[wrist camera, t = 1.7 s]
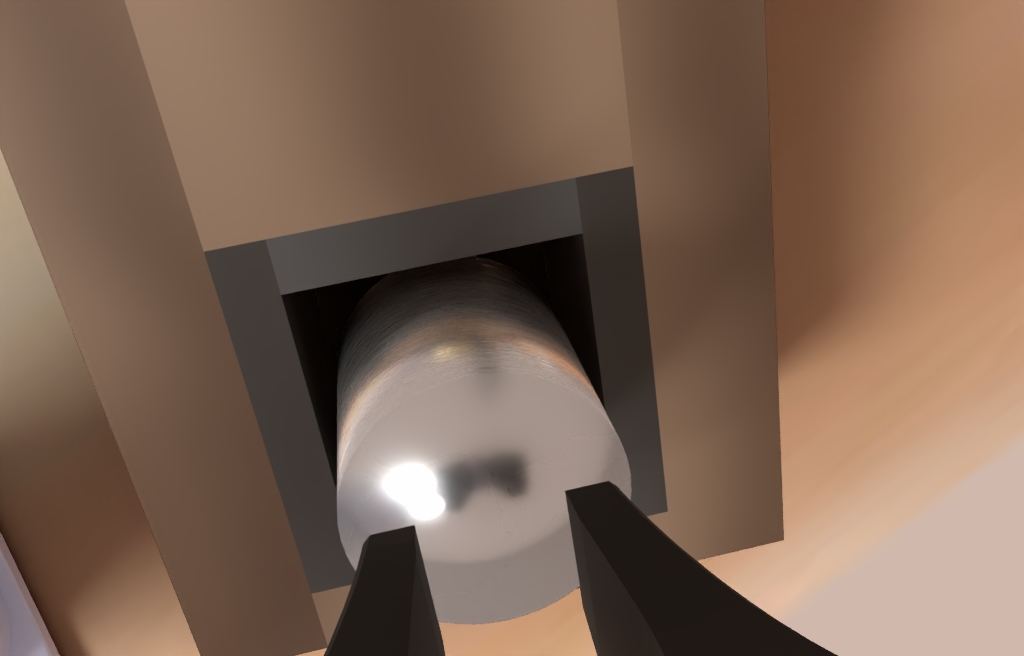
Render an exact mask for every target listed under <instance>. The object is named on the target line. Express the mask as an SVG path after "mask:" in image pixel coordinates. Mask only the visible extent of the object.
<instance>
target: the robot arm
mask: <svg viewBox="0 0 1024 656" xmlns="http://www.w3.org/2000/svg"><path fill="white" fill-rule="evenodd" d="M565 494H566V501H567V507H568V514H569V520H570V526H571V533H572V539H573V545H574V552H575V558H576V565H577V571H578V577H579V584H580V590H581V597H582V603H583V608H584V612H585V615H586V618H587V622H588V625H589V629H590V632H591V635H592V639H593V642H594V646H595V649H596V652H597V655H598V656H838V655H836V654H833V653H832V652H830V651H828V650H826V649H825V648H823V647H821V646H819V645H817V644H816V643H814V642H812V641H810V640H809V639H807V638H805V637H804V636H802V635H800V634H799V633H797V632H796V631H794V630H792V629H791V628H789V627H787V626H786V625H784V624H783V623H781V622H779V621H778V620H776V619H775V618H773V617H772V616H770V615H769V614H767V613H766V612H764V611H763V610H761V609H760V608H758V607H757V606H756V605H754V604H753V603H751V602H750V601H748V600H747V599H746V598H744V597H743V596H742V595H740V594H739V593H737V592H736V591H735V590H733V589H732V588H731V587H729V586H728V585H727V584H725V583H724V582H723V581H721V580H720V579H719V578H717V577H716V576H715V575H714V574H712V573H711V572H710V571H708V570H707V569H706V568H705V567H704V566H702V565H701V564H700V563H699V562H698V561H696V560H695V559H694V558H693V557H692V556H690V555H689V554H688V553H687V552H686V551H684V550H683V549H682V548H681V547H680V546H678V545H677V544H676V543H675V542H674V541H673V540H672V539H671V538H669V537H668V536H667V535H666V534H665V533H664V532H663V531H662V530H661V529H660V528H658V527H657V526H656V525H655V524H654V523H653V522H652V521H651V520H650V519H649V518H648V517H647V516H646V515H645V514H644V513H643V512H642V511H641V510H640V509H639V508H638V507H637V506H636V505H635V504H634V503H633V502H632V501H631V500H630V499H629V498H628V497H627V496H626V495H625V494H624V493H623V492H622V491H621V490H620V489H619V488H618V487H617V486H616V485H614V484H613V483H611V482H610V481H606V482H601V483H597V484H592V485H588V486H584V487H579V488H575V489H570V490H566V491H565ZM0 656H60V655H59V653H58V651H57V649H56V647H55V645H54V642H53V640H52V638H51V636H50V634H49V632H48V630H47V628H46V626H45V624H44V622H43V620H42V618H41V615H40V613H39V611H38V609H37V607H36V605H35V603H34V601H33V599H32V597H31V595H30V593H29V590H28V588H27V586H26V584H25V582H24V580H23V578H22V576H21V574H20V572H19V570H18V568H17V565H16V563H15V561H14V559H13V557H12V555H11V553H10V551H9V549H8V547H7V545H6V543H5V541H4V538H3V536H2V534H1V532H0ZM324 656H445V651H444V645H443V640H442V635H441V631H440V627H439V623H438V619H437V615H436V611H435V607H434V603H433V599H432V595H431V590H430V586H429V582H428V578H427V574H426V570H425V566H424V562H423V558H422V554H421V550H420V546H419V541H418V537H417V533H416V529H415V525H412V526H408V527H403V528H399V529H394V530H390V531H386V532H381V533H377V534H372V535H369V537H368V538H367V539H366V541H365V542H364V543H363V546H362V551H361V555H360V559H359V562H358V566H357V569H356V573H355V576H354V579H353V582H352V585H351V588H350V591H349V594H348V597H347V599H346V602H345V605H344V608H343V610H342V613H341V615H340V618H339V620H338V623H337V625H336V628H335V630H334V633H333V635H332V638H331V640H330V643H329V645H328V648H327V650H326V652H325V654H324Z"/></svg>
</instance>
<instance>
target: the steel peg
mask: <svg viewBox="0 0 1024 656" xmlns="http://www.w3.org/2000/svg"><path fill="white" fill-rule="evenodd" d="M606 481H610V482H611V483H613V484H614V485H616V486H617V487H618V488H619V489H620V490H621V491H622V492H623V493H624V494H625V495H626V496H627V497H628V498H629V499H631V473H630V468H629V463H628V459H627V456H626V453H625V450H624V448H623V445H622V443H621V441H620V439H619V437H618V435H617V433H616V431H615V429H614V427H613V425H612V423H611V421H610V419H609V417H608V416H607V414H606V412H605V410H604V408H603V406H602V404H601V402H600V400H599V398H598V396H597V394H596V392H595V390H594V388H593V386H592V384H591V382H590V380H589V378H588V376H587V375H586V373H585V371H584V369H583V367H582V365H581V363H580V361H579V359H578V357H577V355H576V353H575V351H574V349H573V347H572V345H571V343H570V341H569V339H568V337H567V336H566V334H565V332H564V330H563V328H562V326H561V324H560V322H559V320H558V318H557V316H556V314H555V312H554V310H553V309H552V307H551V305H550V303H549V301H548V300H547V299H546V297H545V296H544V295H543V293H542V292H541V291H540V290H539V289H538V288H537V287H536V286H535V285H534V284H533V283H532V282H531V281H530V280H529V279H527V278H526V277H525V276H523V275H522V274H521V273H519V272H518V271H516V270H514V269H512V268H510V267H508V266H507V265H504V264H502V263H499V262H496V261H494V260H491V259H486V258H482V257H478V256H469V257H464V258H460V259H455V260H450V261H445V262H440V263H435V264H430V265H425V266H420V267H416V268H411V269H406V270H401V271H396V272H392V273H390V274H388V275H387V276H385V277H384V278H383V279H381V280H380V281H379V282H377V283H376V284H375V285H374V286H373V287H372V288H371V289H370V290H368V291H367V292H366V293H365V294H364V296H363V297H362V298H361V299H360V301H359V302H358V303H357V304H356V306H355V307H354V309H353V311H352V312H351V314H350V316H349V317H348V319H347V322H346V324H345V326H344V329H343V331H342V335H341V338H340V342H339V347H338V356H337V522H338V529H339V534H340V539H341V542H342V545H343V548H344V550H345V553H346V555H347V557H348V559H349V561H350V563H351V564H352V566H353V568H354V570H355V571H356V569H357V566H358V562H359V559H360V555H361V551H362V546H363V543H364V542H365V541H366V539H367V538H368V537H369V535H372V534H377V533H381V532H386V531H390V530H394V529H399V528H403V527H408V526H412V525H415V529H416V533H417V537H418V541H419V546H420V550H421V554H422V558H423V562H424V566H425V570H426V574H427V578H428V582H429V586H430V590H431V595H432V599H433V603H434V607H435V611H436V615H437V619H438V621H439V622H446V623H454V624H484V623H494V622H499V621H505V620H510V619H514V618H517V617H520V616H524V615H527V614H530V613H532V612H535V611H537V610H540V609H542V608H545V607H547V606H549V605H550V604H552V603H554V602H556V601H558V600H560V599H562V598H563V597H565V596H566V595H567V594H569V593H570V592H572V591H573V590H575V589H576V588H577V587H579V586H580V584H579V577H578V571H577V565H576V558H575V552H574V545H573V539H572V533H571V526H570V520H569V514H568V507H567V501H566V494H565V491H566V490H570V489H575V488H579V487H584V486H588V485H592V484H597V483H601V482H606Z"/></svg>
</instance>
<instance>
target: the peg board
mask: <svg viewBox="0 0 1024 656" xmlns="http://www.w3.org/2000/svg"><path fill="white" fill-rule="evenodd" d="M0 149H1V151H2V154H3V156H4V159H5V161H6V164H7V166H8V169H9V171H10V174H11V176H12V179H13V182H14V184H15V187H16V189H17V192H18V194H19V197H20V199H21V202H22V204H23V207H24V209H25V212H26V214H27V217H28V220H29V222H30V225H31V227H32V230H33V232H34V235H35V237H36V240H37V242H38V245H39V247H40V250H41V252H42V255H43V258H44V260H45V263H46V265H47V268H48V270H49V273H50V275H51V278H52V280H53V283H54V285H55V288H56V290H57V293H58V296H59V298H60V301H61V303H62V306H63V308H64V311H65V313H66V316H67V318H68V321H69V323H70V326H71V328H72V331H73V334H74V336H75V339H76V341H77V344H78V346H79V349H80V351H81V354H82V356H83V359H84V361H85V364H86V367H87V369H88V372H89V374H90V377H91V379H92V382H93V384H94V387H95V389H96V392H97V394H98V397H99V399H100V402H101V405H102V407H103V410H104V412H105V415H106V417H107V420H108V422H109V425H110V427H111V430H112V432H113V435H114V437H115V440H116V443H117V445H118V448H119V450H120V453H121V455H122V458H123V460H124V463H125V465H126V468H127V470H128V473H129V475H130V478H131V481H132V483H133V486H134V488H135V491H136V493H137V496H138V498H139V501H140V503H141V506H142V508H143V511H144V513H145V516H146V519H147V521H148V524H149V526H150V529H151V531H152V534H153V536H154V539H155V541H156V544H157V546H158V549H159V551H160V554H161V557H162V559H163V562H164V564H165V567H166V569H167V572H168V574H169V577H170V579H171V582H172V584H173V587H174V589H175V592H176V595H177V597H178V600H179V602H180V605H181V607H182V610H183V612H184V615H185V617H186V620H187V622H188V625H189V628H190V630H191V633H192V635H193V638H194V640H195V643H196V645H197V648H198V650H199V653H200V655H201V656H294V655H299V654H303V653H307V652H311V651H316V650H320V649H324V648H328V645H329V643H330V640H331V638H332V635H333V633H334V630H335V628H336V625H337V623H338V620H339V618H340V615H341V613H342V610H343V608H344V605H345V602H346V599H347V597H348V594H349V591H350V588H351V585H352V582H353V579H354V576H355V573H356V571H355V570H354V568H353V566H352V564H351V563H350V561H349V559H348V557H347V555H346V553H345V550H344V548H343V545H342V542H341V539H340V534H339V529H338V522H337V368H336V365H335V361H334V357H333V353H332V350H331V346H330V342H329V338H328V335H327V331H326V327H325V323H324V319H323V316H322V312H321V308H320V304H319V301H318V297H317V293H316V289H315V288H318V287H323V286H328V285H332V284H337V283H342V282H347V281H352V280H357V279H362V278H367V277H372V276H376V275H381V274H386V273H391V272H396V271H401V270H406V269H411V268H416V267H420V266H425V265H430V264H435V263H440V262H445V261H450V260H455V259H460V258H464V257H469V256H474V255H479V254H484V253H489V252H494V251H499V250H504V249H508V248H513V247H518V246H523V245H528V244H533V243H538V242H543V249H544V256H545V263H546V269H547V276H548V283H549V290H550V296H551V303H552V309H553V310H554V312H555V314H556V316H557V318H558V320H559V322H560V324H561V326H562V328H563V330H564V332H565V334H566V336H567V337H568V339H569V341H570V343H571V345H572V347H573V349H574V351H575V353H576V355H577V357H578V359H579V361H580V363H581V365H582V367H583V369H584V371H585V373H586V375H587V376H588V378H589V380H590V382H591V384H592V386H593V388H594V390H595V392H596V394H597V396H598V398H599V400H600V402H601V404H602V406H603V408H604V410H605V412H606V414H607V416H608V417H609V419H610V421H611V423H612V425H613V427H614V429H615V431H616V433H617V435H618V437H619V439H620V441H621V443H622V445H623V448H624V450H625V453H626V456H627V459H628V463H629V468H630V473H631V499H630V500H631V501H632V502H633V503H634V504H635V505H636V506H637V507H638V508H639V509H640V510H641V511H642V512H643V513H644V514H645V515H646V516H647V517H648V518H649V519H650V520H651V521H652V522H653V523H654V524H655V525H656V526H657V527H658V528H660V529H661V530H662V531H663V532H664V533H665V534H666V535H667V536H668V537H669V538H671V539H672V540H673V541H674V542H675V543H676V544H677V545H678V546H680V547H681V548H682V549H683V550H684V551H686V552H687V553H688V554H689V555H690V556H692V557H693V558H694V559H695V560H696V561H697V560H701V559H705V558H710V557H714V556H718V555H722V554H727V553H731V552H735V551H739V550H743V549H748V548H752V547H756V546H760V545H765V544H769V543H773V542H777V541H782V540H784V530H783V502H782V474H781V446H780V418H779V391H778V363H777V335H776V307H775V279H774V252H773V224H772V196H771V168H770V141H769V113H768V85H767V57H766V29H765V2H764V0H0ZM578 588H580V586H579V587H577V588H576V589H578Z"/></svg>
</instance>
